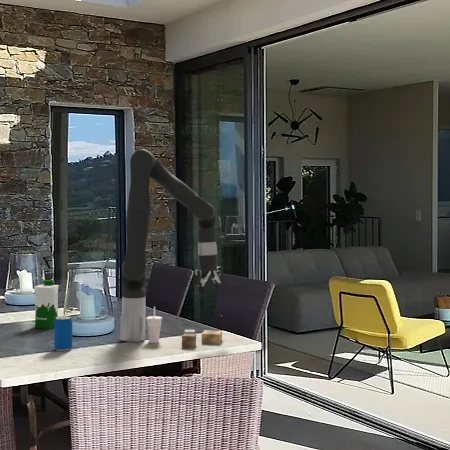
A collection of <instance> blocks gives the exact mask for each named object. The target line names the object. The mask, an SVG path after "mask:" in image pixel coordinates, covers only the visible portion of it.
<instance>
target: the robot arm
mask: <svg viewBox="0 0 450 450" xmlns="http://www.w3.org/2000/svg"><path fill="white" fill-rule="evenodd" d="M129 165H130V185H129V190H128V191H129V193H128V199H127V208H126V209H127V210H126V219H125V223H126V224H125V226H126V228H125V230H126V231H125V232H126V248H125V249H126V250H125V256H124V261H123V262H122V264H121V265H122V266H121V297H122V298H121V316H119V319H120V320H119V333H120V334H119V341H123V342H127V343H130V342H131V343H132V342H133V343H135V342H143V341H145V340H146V292H147V291H146V290H147V289H146V270H147V265H146V248H147V239H148V237H149V236H148V235H149V228H150V222H151V211H152V210H151V209H152V208H151V207H152V204H151V196H150V195H151V194H150V179H152V180H153V181H155V182H156V183H157V184H158V185H160V186H161V187H162V188H163V189H164V190H165V191H166V192H167V193H168V194H169V195H170V196H171V197H173V199H175V201H178V202H179V203H180V204H181V205H183V206H184V207H185V208H187V210H188V211H190V212H191V213H192V214H193V215H194V216H195V217H196V218H197V219H198V222H197V223H198V230H197V242H198V244H197V254H198V255H197V256H198V259H197V260H198V266H199V268H200V269H195V270H193V271H194V272H193V277H194V278H193V285H194V286H197V287H198V295H199V296H200V297H205V295H206V294H205V285H206V282H207V281H208V280H212V281H213V284H214V285H213V289H214V291H213V292H214V294H220V292H221V283H222V282H224V271H223V269H224V268H223V266H217V265H218V264H219V263H218V260H219V259H218V247H217V235H216V209H215V207H214V206H213V205H212V204H211V203H210V202H207V201H206V200H204V199H203V198H202V197H201V196H199V195H198V193H197V192H196V191H194V190H193V189H192V188H191V187H189V186H188V185H187V184H186V183H185V182H183V181H182V180H180V179H179V178H178V177H176V176H175V175H174V174H173V173H171V172H170V171H169V170H167V169H166V168H165V167H164V166H163V165H162V163H160V161H159V160H158V159H157V158H156V157H155V155H154V153H152V152H151V151H148V150H146V149H144V148H143V149H142V148H141V149H137V150H135V151H134V152H133V153H132V155H131V156H130V160H129Z"/></svg>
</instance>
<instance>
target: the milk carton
mask: <svg viewBox="0 0 450 450" xmlns="http://www.w3.org/2000/svg"><path fill="white" fill-rule="evenodd" d="M33 288H34V295H35V301H34V302H35V303H34V304H35V308H34V310H35V317H34V318H35V320H34V323H35V324H34V329H42V330H44V329H45V330H47V329H48V330H52V329H54V321H55V319H56V317H59V316H58V315H59V314H58V311H59V307H58V295H59V284H54V280H53V279H45V280H43V284H38V285H36V286H34V287H33Z"/></svg>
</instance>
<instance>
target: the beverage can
mask: <svg viewBox="0 0 450 450" xmlns="http://www.w3.org/2000/svg"><path fill="white" fill-rule="evenodd" d="M53 329H54V332H53V333H54V334H53V336H54V337H53V338H54V339H53V340H54V346H53V347H54V350H56V351H57V352H69V351H71V349H72V348H73V320H72V317H71V316H70V315H69V316H67V315H66V316H64V315H61V316H58V317H56V319H55V321H54V328H53Z"/></svg>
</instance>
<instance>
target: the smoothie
mask: <svg viewBox="0 0 450 450" xmlns="http://www.w3.org/2000/svg"><path fill="white" fill-rule="evenodd" d="M162 321H163V316H158V315H156V306H153V316H152V315H150V316H147V317H146V316H145V322H146V325H147V333H148V334H147V335H148V343H150V344H157V343H159V341H160V333H161V325H162Z"/></svg>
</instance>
